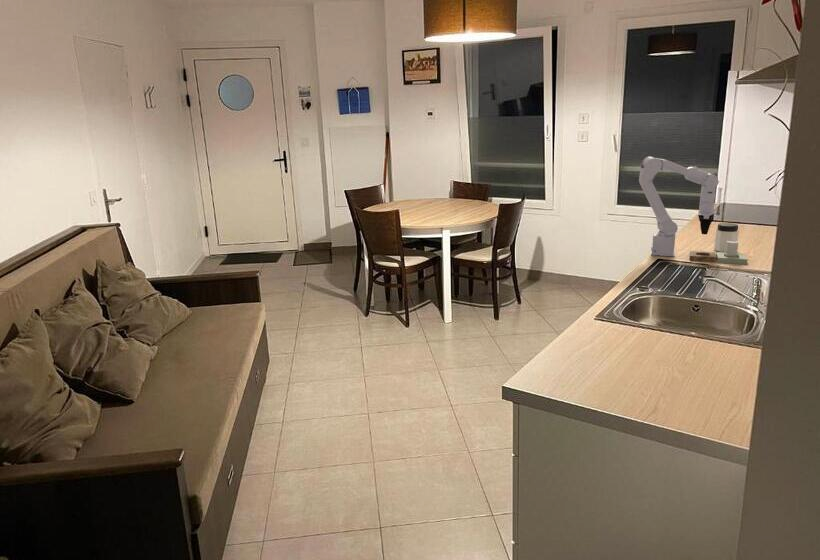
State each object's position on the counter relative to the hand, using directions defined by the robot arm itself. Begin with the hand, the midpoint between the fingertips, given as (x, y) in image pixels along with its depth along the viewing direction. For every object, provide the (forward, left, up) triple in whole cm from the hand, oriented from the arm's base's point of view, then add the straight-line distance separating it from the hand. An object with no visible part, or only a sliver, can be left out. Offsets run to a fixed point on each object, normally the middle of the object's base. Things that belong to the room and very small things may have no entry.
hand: (703, 232), depth 268 cm
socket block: (0, -8, -10) cm, 13 cm away
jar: (+10, +11, -10) cm, 18 cm away
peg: (+11, -8, -10) cm, 17 cm away
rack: (+11, -8, -10) cm, 17 cm away
